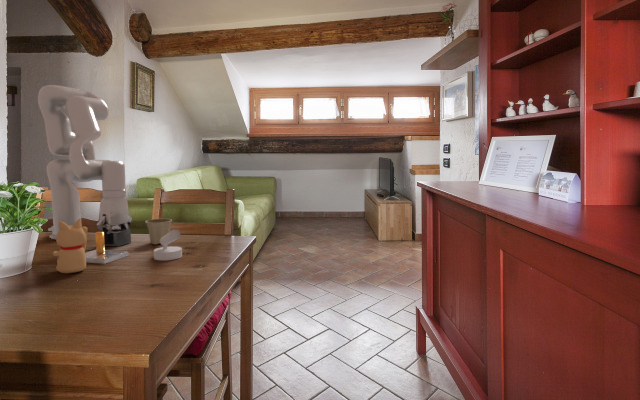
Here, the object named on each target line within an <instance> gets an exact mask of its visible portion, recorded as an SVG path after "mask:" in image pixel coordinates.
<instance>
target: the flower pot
mask: <svg viewBox="0 0 640 400" xmlns="http://www.w3.org/2000/svg"><path fill="white" fill-rule="evenodd" d="M144 222H145V224H146V226H147V230H148V236H149V240H150V243H151V244H152V245H159V244H160V245H161V243H160V239H161V238H162V237H163V236H165V235H166V234H168V233H170V232H171V230H170V229H171V224H172V222H173V220H172V218H153V219H148V220H145V221H144Z"/></svg>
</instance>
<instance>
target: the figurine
mask: <svg viewBox="0 0 640 400" xmlns="http://www.w3.org/2000/svg"><path fill="white" fill-rule="evenodd" d="M81 227H82V228H81ZM59 229H60V230H59V232H58V234H57V238H56V239H55V240H56V243H57V245H58V246H59V248H60V249H59V250H58V251H55V250H54V251H53V252H52V256H53V257H57V260H56V267H55V269H56V271H58V272H60V273H61V274H73V273H74V274H75V273H78V272H81V271H84V270H85V269H86V267H87V262H86V255H85V253H86V248H87V241H88V230H89V229H88V227H86V226H83V225H82V218H81V219H80V218H79V219H78V220H77V221H76V222H75V223H74V225H72V226H68V225H67V224H65V223H64V222H62V221H59Z"/></svg>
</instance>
